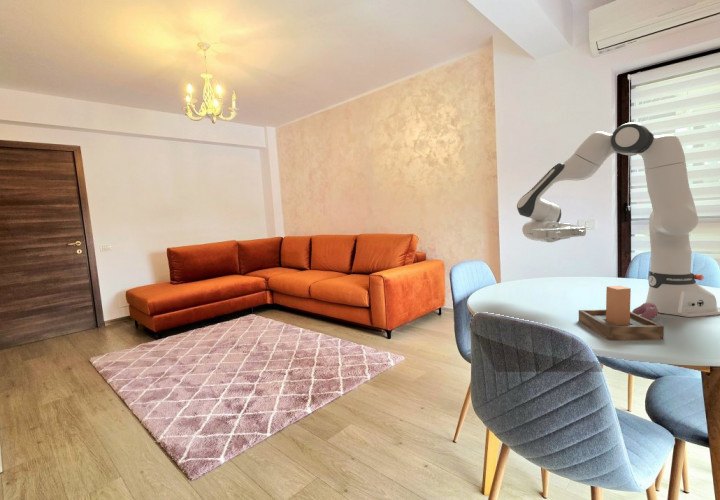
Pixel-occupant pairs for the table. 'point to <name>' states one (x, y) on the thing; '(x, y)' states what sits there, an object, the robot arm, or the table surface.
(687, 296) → the robot arm
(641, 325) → the box
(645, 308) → the video game controller
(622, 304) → the peg
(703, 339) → the table surface
